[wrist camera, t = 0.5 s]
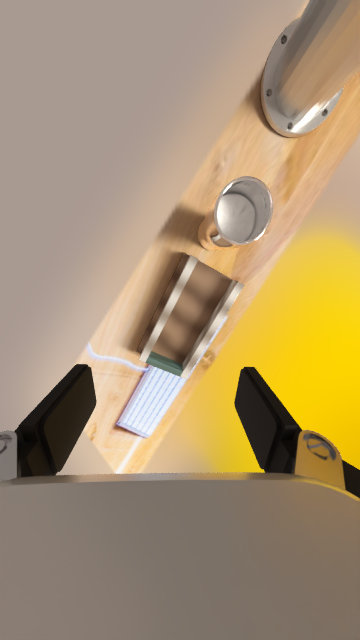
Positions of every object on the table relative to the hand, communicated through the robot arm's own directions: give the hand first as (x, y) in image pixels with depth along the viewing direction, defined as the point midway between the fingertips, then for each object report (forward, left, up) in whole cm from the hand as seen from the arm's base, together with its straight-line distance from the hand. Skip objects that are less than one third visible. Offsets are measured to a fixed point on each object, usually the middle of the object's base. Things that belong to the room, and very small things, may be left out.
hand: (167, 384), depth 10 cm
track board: (-2, +6, -27) cm, 28 cm away
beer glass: (-12, -9, -28) cm, 31 cm away
